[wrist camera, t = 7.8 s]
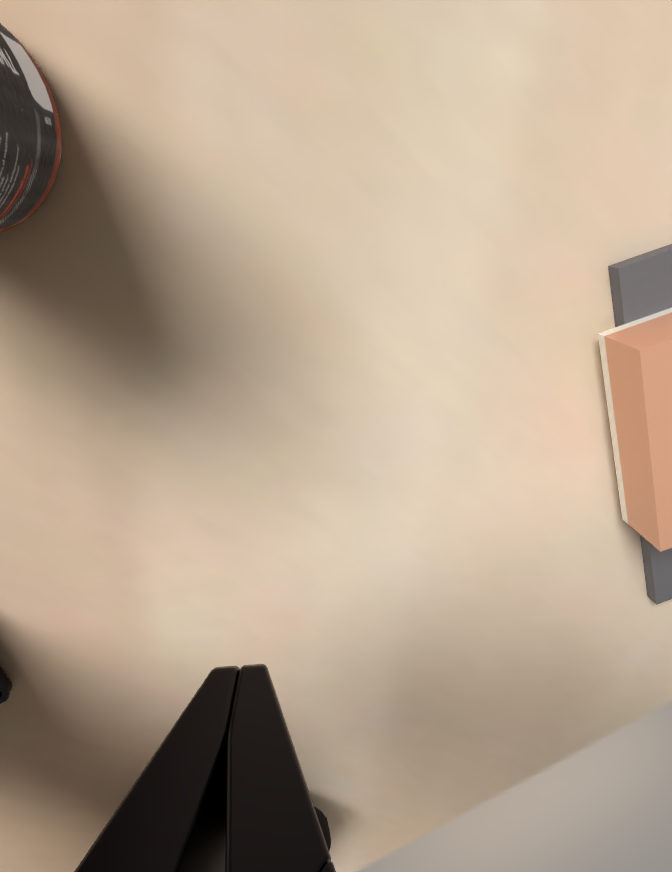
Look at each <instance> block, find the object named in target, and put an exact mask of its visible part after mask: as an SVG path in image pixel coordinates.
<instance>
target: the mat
mask: <svg viewBox="0 0 672 872" xmlns="http://www.w3.org/2000/svg"><path fill="white" fill-rule="evenodd" d="M608 267H609V275H610V283H611V292H612V300H613V309H614V317H615V325H616V327H618V326H621V325H624V324H626V323H629V322H632V321H635V320H638V319H641V318H643V317H646V316H649V315H652V314H655V313H658V312H661V311H663V310H666V309H669V308H672V244H671V245H668V246H665V247H662V248H659V249H656V250H653V251H651V252H648V253H645V254H642V255H639V256H636V257H633V258H631V259H628V260H625V261H622V262H619V263H616V264H613V265H611V266H608ZM640 536H641V535H640ZM641 544H642V553H643V561H644V569H645V578H646V586H647V595H648V597H649V598H650V599H651V600H652V601H653V602H654V603H655V604H659V603H662V602H664V601H667V600H670V599H672V548H670V549H667V550H664V551H661V552H660V551H659V550H658V549H657V548H656V547H654V546H653V545H652V544H651V543H650V542H649V541H647V540H646V539H645V538H644V537H643V536H641Z"/></svg>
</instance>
